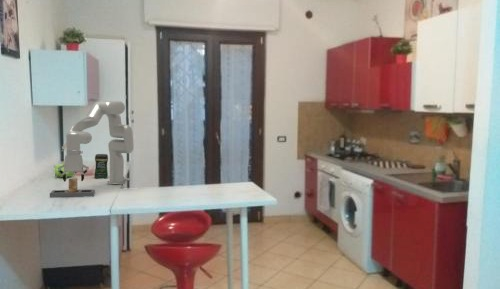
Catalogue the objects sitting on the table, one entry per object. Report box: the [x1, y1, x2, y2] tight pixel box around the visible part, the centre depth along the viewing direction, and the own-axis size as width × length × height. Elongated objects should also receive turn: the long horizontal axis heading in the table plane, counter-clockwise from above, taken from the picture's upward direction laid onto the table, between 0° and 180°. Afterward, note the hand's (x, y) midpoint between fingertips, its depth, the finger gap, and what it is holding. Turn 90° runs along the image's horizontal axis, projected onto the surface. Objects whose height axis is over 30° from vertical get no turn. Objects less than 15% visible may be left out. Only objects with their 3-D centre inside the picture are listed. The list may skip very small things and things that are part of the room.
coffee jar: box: [94, 153, 109, 179], centre depth 308 cm, size 10×8×19 cm
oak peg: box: [68, 178, 78, 192], centre depth 242 cm, size 4×4×10 cm
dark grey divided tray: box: [49, 189, 96, 198], centre depth 243 cm, size 24×9×3 cm, turn 106°
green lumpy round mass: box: [53, 162, 75, 179], centre depth 305 cm, size 15×14×11 cm
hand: (73, 181), depth 243 cm, fingers open, 9 cm apart
